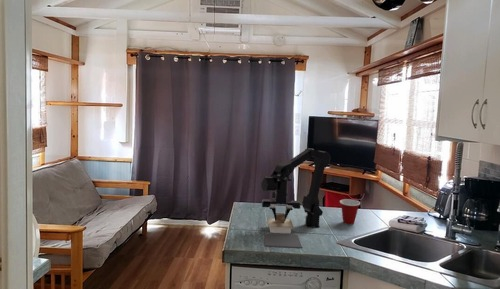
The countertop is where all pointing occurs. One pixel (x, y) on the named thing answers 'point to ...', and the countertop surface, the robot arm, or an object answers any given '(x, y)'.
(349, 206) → the plastic cup
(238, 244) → the countertop surface
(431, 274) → the countertop surface
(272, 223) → the lid
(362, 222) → the countertop surface
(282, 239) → the mat
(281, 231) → the dish
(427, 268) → the countertop surface
